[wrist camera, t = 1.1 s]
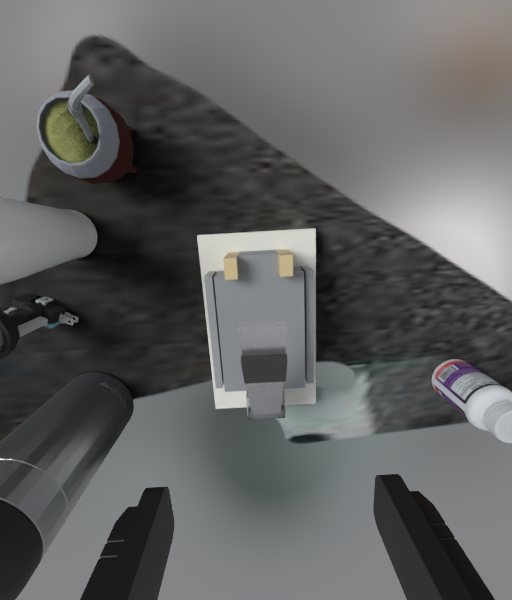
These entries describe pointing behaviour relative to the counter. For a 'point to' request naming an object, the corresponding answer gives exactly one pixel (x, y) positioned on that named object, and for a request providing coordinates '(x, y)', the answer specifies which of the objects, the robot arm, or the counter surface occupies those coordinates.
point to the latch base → (259, 241)
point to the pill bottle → (475, 397)
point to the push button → (29, 319)
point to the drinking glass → (40, 238)
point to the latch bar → (264, 366)
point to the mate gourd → (86, 136)
